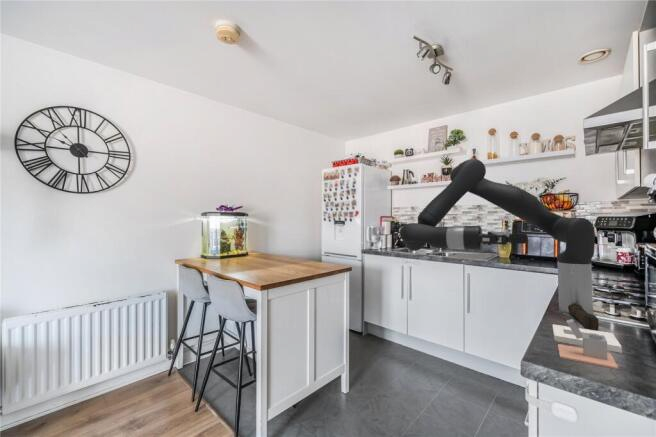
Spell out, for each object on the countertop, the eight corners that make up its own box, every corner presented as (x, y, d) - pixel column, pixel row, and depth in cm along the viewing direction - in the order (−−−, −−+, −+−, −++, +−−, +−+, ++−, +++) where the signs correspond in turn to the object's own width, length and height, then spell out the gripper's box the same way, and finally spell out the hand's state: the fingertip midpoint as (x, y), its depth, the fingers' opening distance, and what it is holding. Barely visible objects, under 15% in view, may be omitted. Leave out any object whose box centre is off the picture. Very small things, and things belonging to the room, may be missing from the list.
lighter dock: (552, 329, 86) (552, 324, 86) (612, 338, 79) (612, 333, 79) (554, 341, 78) (554, 335, 78) (621, 352, 71) (621, 346, 71)
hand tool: (567, 314, 100) (567, 301, 100) (583, 316, 98) (582, 302, 98) (583, 334, 83) (583, 318, 83) (602, 336, 81) (601, 320, 81)
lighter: (606, 357, 68) (605, 323, 68) (607, 360, 66) (606, 325, 67) (567, 349, 72) (566, 317, 72) (567, 352, 71) (566, 320, 71)
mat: (557, 345, 76) (557, 343, 76) (610, 355, 70) (610, 353, 70) (560, 357, 69) (560, 356, 69) (618, 369, 63) (618, 367, 63)
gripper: (459, 226, 85) (525, 225, 75) (467, 225, 96) (526, 224, 87) (459, 252, 84) (526, 254, 75) (468, 247, 96) (527, 249, 87)
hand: (526, 238), depth 81 cm, fingers open, 8 cm apart
